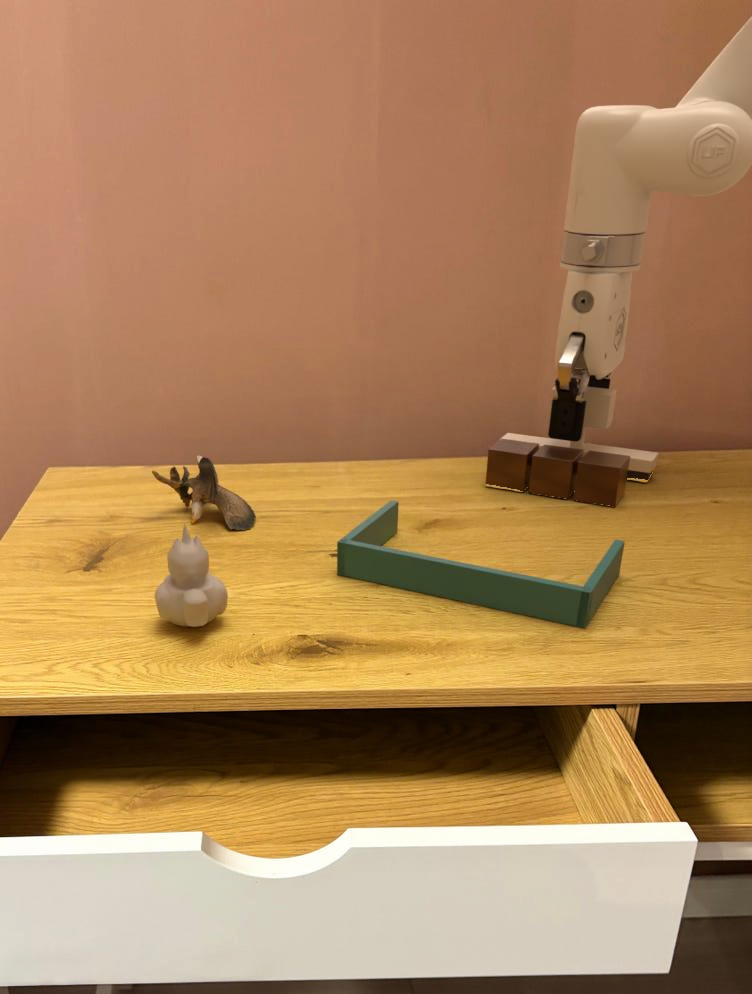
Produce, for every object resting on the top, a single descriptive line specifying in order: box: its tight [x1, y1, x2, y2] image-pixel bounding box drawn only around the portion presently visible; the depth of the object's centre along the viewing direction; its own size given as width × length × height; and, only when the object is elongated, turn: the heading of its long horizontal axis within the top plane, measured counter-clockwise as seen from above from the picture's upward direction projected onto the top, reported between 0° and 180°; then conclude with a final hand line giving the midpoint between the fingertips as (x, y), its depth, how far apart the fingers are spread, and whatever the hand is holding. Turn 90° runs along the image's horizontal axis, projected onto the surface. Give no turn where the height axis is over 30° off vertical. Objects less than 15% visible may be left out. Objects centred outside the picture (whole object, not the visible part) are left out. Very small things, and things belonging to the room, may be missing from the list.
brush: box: [500, 386, 659, 480], centre depth 102 cm, size 16×3×8 cm, turn 60°
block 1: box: [485, 438, 539, 491], centre depth 99 cm, size 4×4×4 cm
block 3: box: [573, 451, 630, 507], centre depth 95 cm, size 4×4×4 cm
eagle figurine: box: [151, 454, 257, 531], centre depth 93 cm, size 8×7×9 cm
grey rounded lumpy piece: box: [154, 523, 229, 628], centre depth 73 cm, size 5×7×8 cm
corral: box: [336, 500, 626, 629], centre depth 81 cm, size 21×11×3 cm, turn 60°
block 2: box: [528, 445, 584, 500], centre depth 97 cm, size 4×4×4 cm
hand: (577, 426), depth 102 cm, fingers open, 9 cm apart
